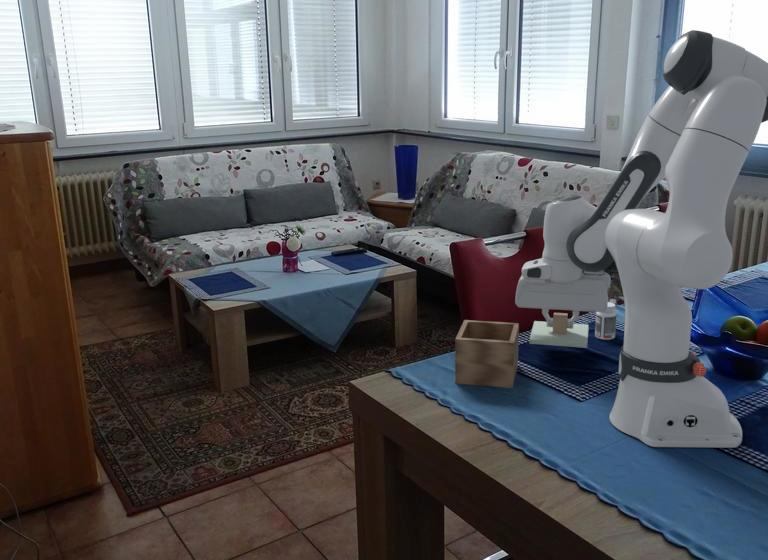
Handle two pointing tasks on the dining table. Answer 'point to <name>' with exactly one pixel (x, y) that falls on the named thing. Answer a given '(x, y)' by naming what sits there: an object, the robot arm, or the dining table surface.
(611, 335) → the pill bottle
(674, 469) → the dining table surface
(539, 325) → the lid
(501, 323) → the box
